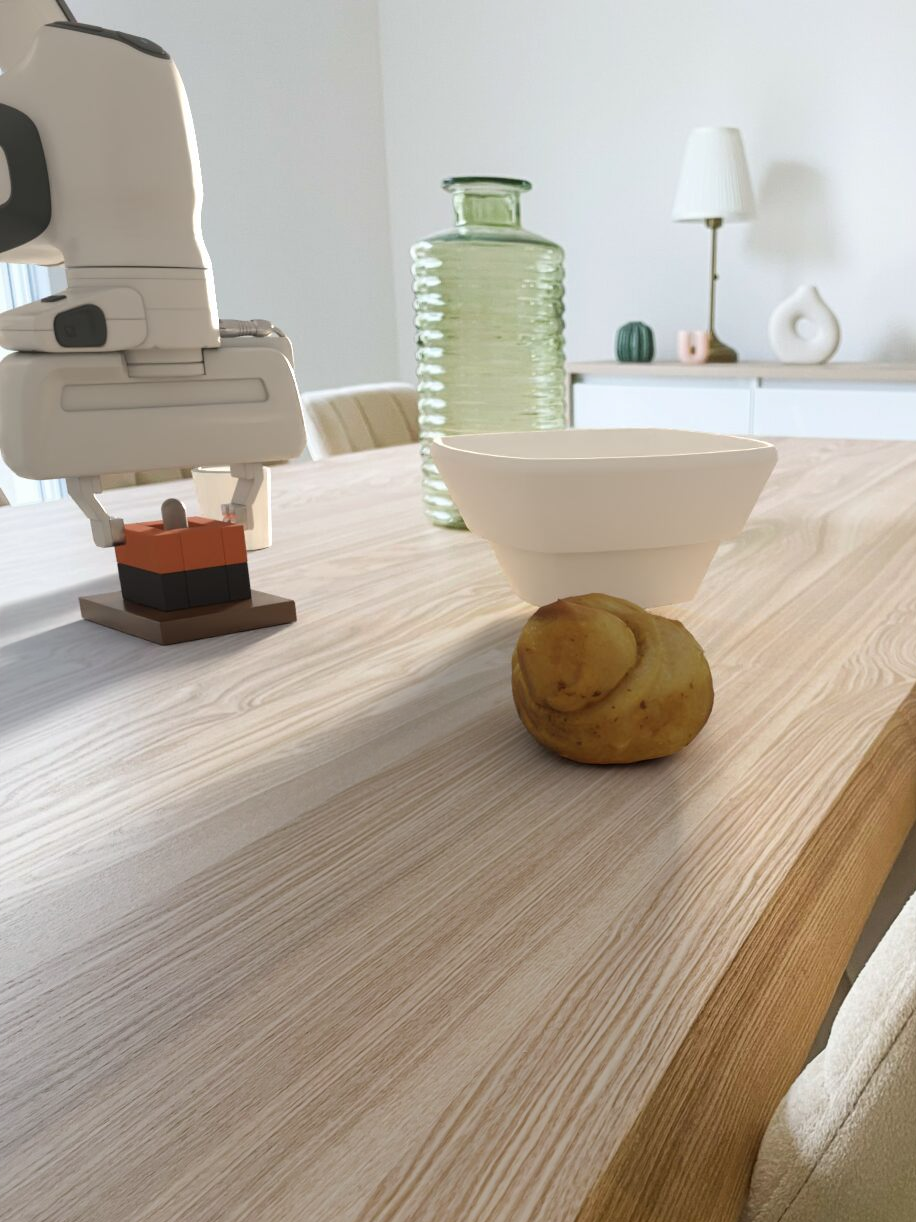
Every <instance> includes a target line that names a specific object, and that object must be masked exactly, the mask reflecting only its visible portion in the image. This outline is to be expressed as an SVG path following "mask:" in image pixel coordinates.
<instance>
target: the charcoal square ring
mask: <svg viewBox="0 0 916 1222" xmlns="http://www.w3.org/2000/svg"><path fill="white" fill-rule="evenodd" d="M116 565H117V573H118V578H119V585H120V591H121V592H122V598H123V599H126V600H129V601H133V602H136V603H139V604H143V605H146V606H150V607H153V608H156V609H160V610H163V611H166V612H169V611H175V610H181V609H187V608H194V607H200V606H206V605H212V604H218V603H225V602H229V601H237V600H243V599H249V598H252V595H251V587H252V586H251V579H250V571H249V570H250V569H249V563H248V562H244V563H237V564H230V565H223V566H216V567H209V568H202V569H195V570H188V571H180V572H173V573H166V574H159V573H155V572H151V571H148V570H144V569H140V568H136V567H132V566H129V565H125V564H121V563H117V562H116Z"/></svg>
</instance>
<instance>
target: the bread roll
mask: <svg viewBox="0 0 916 1222" xmlns="http://www.w3.org/2000/svg"><path fill="white" fill-rule="evenodd" d="M705 653H706V651H705V650H704V648H703V646H702V645H701V644H700V643H699V641H698V640H697V639H696V638H695V636H694V635H693V634H692V633H691V632H690V631H689V630H688V629H687V628H686V627H685V625H684V624H683V623H682V621H680V620H679V619H672V618H667V617H665V616H663V615H658V614H651V613H649V612H648V611H647V610H646V609H643V608H641V607H639V606H638V605H636V604H634V603H632V602H630V601H627V600H625V599H621V598H616V597H613V596H609V595H606V594H602V593H590V594H586V595H579V596H574V597H573V596H571V597H567V598H563V599H559V598H558V601H556V602H553V603H551V604H548V605H545V606H542V607H538V609H537V610H535V612H534V613H533V614H531V616H530V617H529V618H528V619H527V621H526V623H525V625H524V626H523V628H522V630H521V632H520V635H519V637H518V640H517V642H516V644H515V646H514V649H513V652H512V655H511V662H510V663H511V682H510V683H511V694H512V698H513V703H514V705H515V710H516V712H517V716H518V718H519V720H520V721H521V723H522V725H523V726H524V728H525V729H526V731H527V732H528V734H529V735H530V736H531V737H532V738H533V739H534V740H535V741H536V743H537V744H538V746H541V747H543V748H544V749H546V750H548V751H549V752H551V753H553V754H555V755H557V756H560V757H563V758H565V759H568V760H571V761H574V762H578V763H582V764H591V765H595V764H596V765H597V764H599V765H608V764H611V765H612V764H631V763H636V762H640V761H645V760H651V759H658V758H662V757H667V756H671V755H674V754H676V753H678V752H680V751H682V750H683V749H684V748H686V747H688V746H689V744H690V743H692V742H693V741H694V740H695V738H696V737H697V736H698V735H699V734H700V732H701V731H702V730H703V729H704V727H705V726H706V725H707V723H708V721H709V718H710V717H711V714H712V713H713V712H712V711H713V708H714V702H715V690H714V683H713V682H714V681H713V675H712V672H711V671H712V670H711V667H710V663H709V662H708V659H707V658H706V656H705Z"/></svg>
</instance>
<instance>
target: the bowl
mask: <svg viewBox="0 0 916 1222" xmlns="http://www.w3.org/2000/svg"><path fill="white" fill-rule="evenodd" d="M429 456H430V458H431V460H432V462H433V464H434V466H435V467H436V470H437V472H438V473H439V476H440V477H441V479H442V481H443V484H444V486H445V487H446V489H447V491H448V493H449V495H450V497H451V499H452V501H453V503H454V505H455V507H456V508H457V511H458V512H459V514H460V516H461V519H462V520H463V522H464V524H465V527H466V528H467V529H468V530H469V531H470V532H471V533H472V534H474V535H476V536H478V538H481V539H484V540H486V541H487V543H488V544H489V546H490V548H491V550H492V552H493V554H494V556H495V559H496V561H497V563H498V564H499V567H500V569H501V571H502V573H503V574H504V577H505V580H506V581H507V583H508V586H509V587H510V589H511V591H512V592H513V593H514V594H515V595H516V597H517V598H519V599H520V600H521V601H523V602H525V603H527V604H530V605H532V606H535V607H537V608H540V607H542V606H545V605H548V604H551V603H553V602H556V601H558V598H559V599H563V598H567V597H571V596H573V597H574V596H579V595H586V594H590V593H602V594H606V595H609V596H613V597H616V598H621V599H625V600H627V601H630V602H632V603H634V604H636V605H638V606H639V607H641V608H643V609H644V610H647V609H653V608H660V607H666V606H672V605H678V604H682V603H689V602H691V601H693V600H694V599H695V597H696V595H697V593H698V592H699V589H700V587H701V585H702V583H703V580H704V578H705V577H706V574H707V573H708V570H709V568H710V566H711V564H712V562H713V560H714V558H715V556H716V553H717V552H718V550H719V547H720V545H721V543H722V542H723V541H724V540H730V539H734V538H738V537H740V535H741V533H742V532H743V529H744V527H745V525H746V523H747V521H748V520H749V519H750V516H751V514H752V513H753V510H754V508H755V506H756V504H757V502H758V500H759V499H760V496H761V494H762V492H763V491H764V489H765V487H766V485H767V483H768V481H769V479H770V477H771V475H772V473H773V471H774V469H775V467H776V465H777V464H778V461H779V455H778V450H777V448H776V446H775V445H774V444H772V443H770V442H768V441H764V440H759V439H755V438H750V437H749V438H748V437H742V436H736V435H731V434H724V433H715V432H708V431H701V430H700V431H699V430H689V429H679V428H667V427H666V428H664V427H603V428H575V429H573V428H572V429H571V428H570V429H545V430H524V431H505V432H503V431H502V432H486V433H484V432H483V433H469V434H455V435H454V434H453V435H444V436H443V435H442V436H435V437H434V439H433V440H432V442H431V444H430V448H429Z"/></svg>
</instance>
